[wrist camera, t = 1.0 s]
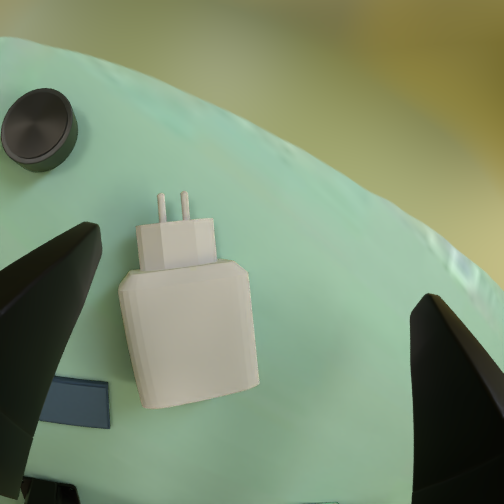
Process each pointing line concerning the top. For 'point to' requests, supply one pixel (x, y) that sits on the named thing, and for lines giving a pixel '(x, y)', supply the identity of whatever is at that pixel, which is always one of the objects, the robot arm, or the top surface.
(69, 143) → the black knob
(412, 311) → the robot arm
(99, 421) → the dark blue flat bar
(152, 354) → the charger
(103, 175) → the top surface
